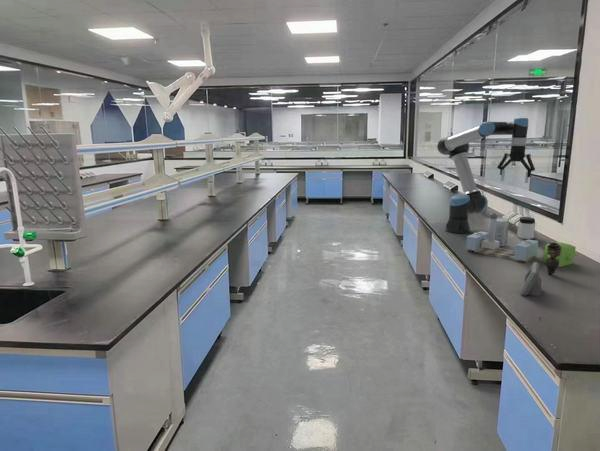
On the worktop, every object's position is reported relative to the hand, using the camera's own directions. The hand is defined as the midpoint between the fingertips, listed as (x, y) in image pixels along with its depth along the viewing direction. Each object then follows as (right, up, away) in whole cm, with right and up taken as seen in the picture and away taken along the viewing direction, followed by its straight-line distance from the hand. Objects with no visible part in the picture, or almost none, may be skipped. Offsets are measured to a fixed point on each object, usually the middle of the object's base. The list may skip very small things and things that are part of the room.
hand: (514, 181), depth 241 cm
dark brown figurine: (-13, -49, -56) cm, 75 cm away
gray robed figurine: (-33, -53, -74) cm, 97 cm away
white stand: (-24, -38, -21) cm, 50 cm away
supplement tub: (-13, -37, -6) cm, 40 cm away
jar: (+11, -33, +8) cm, 36 cm away
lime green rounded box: (0, -45, -42) cm, 61 cm away
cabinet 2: (-12, -42, -34) cm, 55 cm away
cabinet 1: (-29, -38, -16) cm, 50 cm away
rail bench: (-21, -41, -25) cm, 52 cm away
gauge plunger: (-29, -37, -17) cm, 49 cm away
